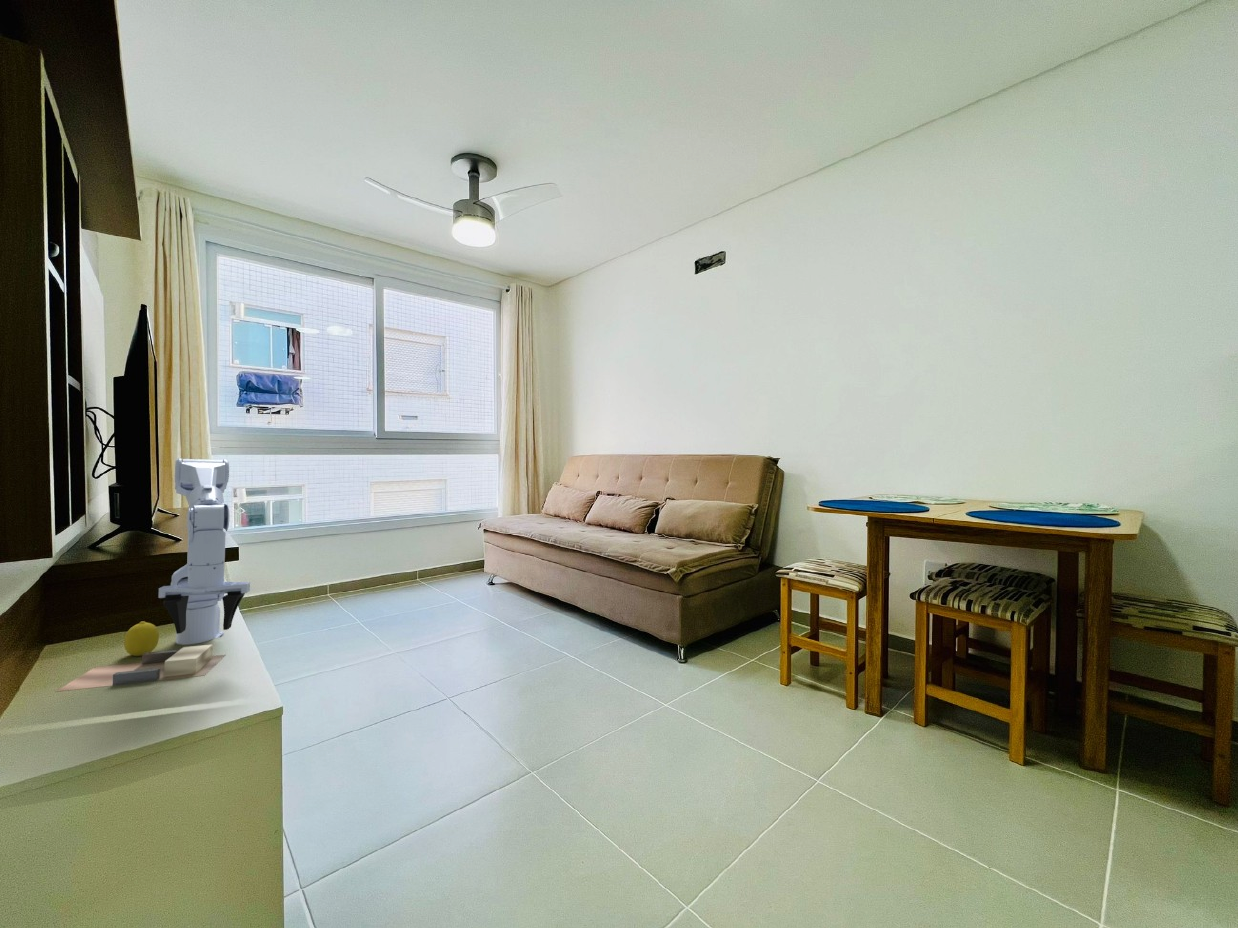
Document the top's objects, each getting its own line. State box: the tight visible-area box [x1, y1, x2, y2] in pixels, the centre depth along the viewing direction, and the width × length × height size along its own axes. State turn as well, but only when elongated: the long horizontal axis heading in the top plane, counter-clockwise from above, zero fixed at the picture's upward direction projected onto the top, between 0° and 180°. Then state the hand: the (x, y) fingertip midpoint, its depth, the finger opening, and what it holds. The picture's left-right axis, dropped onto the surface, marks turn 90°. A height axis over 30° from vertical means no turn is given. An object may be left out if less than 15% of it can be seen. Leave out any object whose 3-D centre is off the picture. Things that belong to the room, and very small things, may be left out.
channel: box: [113, 649, 180, 686], centre depth 100 cm, size 12×6×2 cm, turn 22°
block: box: [164, 644, 213, 677], centre depth 103 cm, size 8×5×3 cm, turn 22°
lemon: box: [123, 620, 160, 657], centre depth 109 cm, size 6×6×8 cm
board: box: [55, 654, 226, 693], centre depth 100 cm, size 12×22×1 cm, turn 112°
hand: (204, 630), depth 101 cm, fingers open, 7 cm apart
